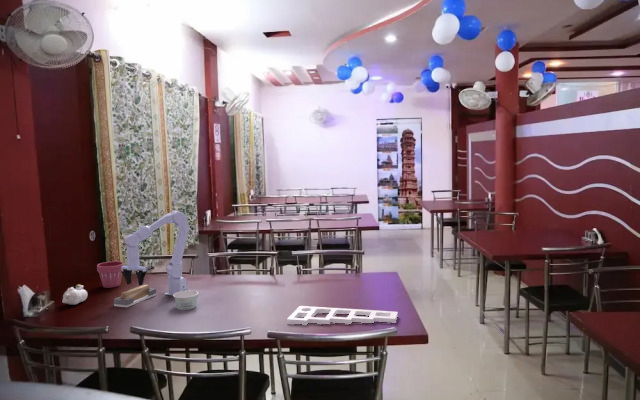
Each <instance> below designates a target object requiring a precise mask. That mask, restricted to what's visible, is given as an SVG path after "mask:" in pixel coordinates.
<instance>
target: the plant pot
mask: <svg viewBox="0 0 640 400" xmlns="http://www.w3.org/2000/svg"><path fill="white" fill-rule="evenodd" d="M121 266H125V264H124V262H123V261H117V260H115V261H114V260H113V261H107V262H106V261H105V262H101V263H98V264H97V266H96V270H97V271H96V272H98V274H99V277H100V281H101V284H102V287H103V288H109V289H110V288H115V287H119V286H121V281H122V277H123V274H122V273H121V272H122V271H123V270H122V269H121Z"/></svg>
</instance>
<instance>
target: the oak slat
mask: <svg viewBox="0 0 640 400" xmlns="http://www.w3.org/2000/svg"><path fill="white" fill-rule="evenodd" d="M149 288H150V286H149V284H143V285H140V286H139V285H138V286H137V287H134V288H131V289H129V290H126V291H123V292H121V293H120V294H121V295H120V296H121V297H122V299H128V298H133V301H134V300H136V299H139V298H141V297H144V296H146V295H148V291H149Z"/></svg>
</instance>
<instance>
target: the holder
mask: <svg viewBox="0 0 640 400" xmlns="http://www.w3.org/2000/svg"><path fill="white" fill-rule="evenodd" d="M322 313H329V314H326V316H325V317H316V315H318V314H322ZM336 314H349V315H347V316H345V317H344V316H337V315H336ZM398 314H399V312H398V311H391V310H390V311H388V310H378V309H377V310H376V309H375V310H374V309H360V308H359V309H358V308H356V309H355V308H345V307H344V308H341V307H324V306H322V307H321V306H307V305H299V306H297V308H296V309H295V310H294V311H293V312H292V313H291V314H290V315H289V316H288V317H287V319H286V323H287V325H294V324H302V325H301V326H308V325H309V324H308V323H317V324H316V325H321V324H329V325H330V324H331V323H330V322H333V323H332V324H335V323H345V324H344V325H349V324H351V323H352V322H361V323H360V324H362V323H374V321H379V322H392V323H396V324H397V321H396V320H398V318H399V317H398ZM335 315H336V316H335ZM356 315H366V316H356ZM314 316H315V317H314ZM368 316H369V317H368ZM303 317H304V318H303ZM397 317H398V318H397ZM307 324H308V325H307ZM352 324H353V323H352ZM352 324H351V325H352ZM374 324H375V323H374Z"/></svg>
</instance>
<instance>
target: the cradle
mask: <svg viewBox="0 0 640 400" xmlns="http://www.w3.org/2000/svg"><path fill="white" fill-rule="evenodd" d="M156 296H157V288H153V287H152V288H151V287H149V291H148V295H146V296H144V297H141V298H139V299H136V300H134V301H133V298H128V299H122V296H119V297H118V296H117V297H115V298H113V306H114V307H119V308H129V307H131V306H134V305H136V304H138V303H141V302H143V301H146V300H148V299H151V298H153V297H156Z"/></svg>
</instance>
